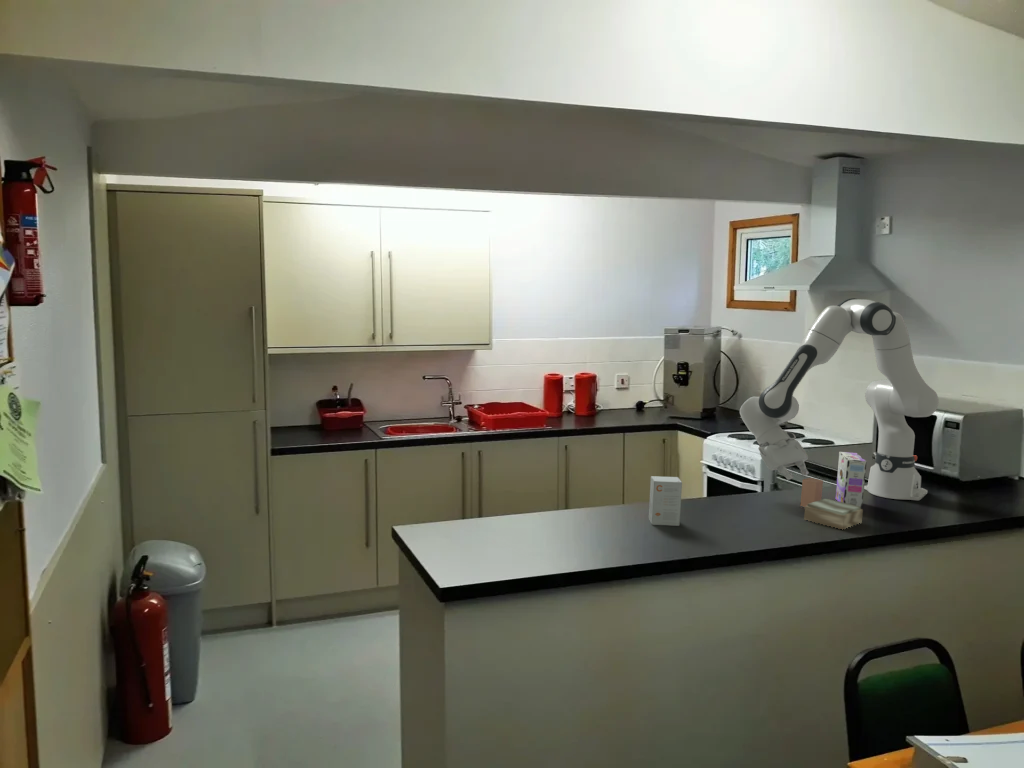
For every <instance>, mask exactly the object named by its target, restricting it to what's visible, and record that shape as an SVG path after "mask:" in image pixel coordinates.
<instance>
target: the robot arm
mask: <svg viewBox="0 0 1024 768" xmlns="http://www.w3.org/2000/svg"><path fill="white" fill-rule="evenodd" d="M852 332H854V333H857V334H865V335H869V336H871V337H872V345H873V351H874V357H875V362H876V367H877V370H878V371H879V372H880V373H881V374H882V375H884V376H885V377H886V378H887V379H880V380H879V379H877V380H873V381H871V382H870V383H869V384H868V385H867V387H866V389H865V392H864V397H865V402H866V403H867V405H868V406H869V407H870V408H871V410H872V412H873V414H874V415H875V419H876V422H877V427H878V440H877V451H876V452H875V455H874V462H875V463H874V464H873V465H871V466H870V468H869V469H870V470H869V474H868V479H867V481H868V482H867V484H866V485H865V484H864V490H866V491H867V492H868V493H869V494H871V495H873V496H877V497H880V498H886V499H891V500H892V499H894V500H909V501H910V500H911V501H920V500H922V499H923V498H924V497H925V496H926V495H927V494H928V489H925V488H923V487H921V486H922V475H920V473H919V472H918V470H917V469H916V468H915V466H916V464H915V463H916V462H917V460H918V456H917V455H914V451H915V450H914V449H915V439H916V435H915V432H914V430H913V429H912V428H911V427H910V426H909V425H908V423H907V421H906V418H905V416H906V417H911V418H927V417H930V416H932V415H933V414H934V413H936V410H937V409H938V406H939V397H938V394H937V392H936V391H935V390H934V389H933V388H932V387H930V386H929V385H928V383H926V381H925V380H924V379H923V377H922V376H921V374H920V372H919V371H918V369H917V367H916V364H915V361H914V356H913V352H912V351H913V350H912V345H911V339H910V335H909V330H908V327H907V324H906V322H905V320H904V317H903V316H902V314H900V313H898V312H896V311H893V310H892V309H891V308H890V307H889V306H888V305H886V304H885V303H883V302H879V301H874V300H872V299H863V298H862V299H860V298H859V299H858V298H847V299H845V300H842V301H840V302H839V303H838V304H837V305H828V306H826V307H825V308H824V309H823V310H822V311H821V312H820V313H819V315H818V316H817V317H816V318H815V320H814V321H813V322H812V324H811V325H810V326H809V328H808V330H807V332H806V333H805V335H804V336H803V339H802V340H801V342H800V344H799V346H798V347H797V349H796V351H795V353H794V354H793V356H792V357H791V359H790V360H789V361H788V363H787V364H786V366H785V367H784V368H783V370H782V372H781V373H779V374H780V375H779V376H778V378H777V379H776V380H775V381H774V382H773V383H772V384H770V385H769V386H768V387H766V388H765V389H764V390H763V391H761V393H760V394H759V395H760V396H751V397H749V398H747V399H746V400H745V401H743V403H742V404H741V406H740V408H739V415H740V418H741V420H742V421H743V423H744V424H745V427H747V429H748V430H749V432H751V433H752V435H753V436H754V438H755V440H756V442H757V443H758V451H759V455H760V457H761V460H762V461H763V462H764V465H765V466H766V468H767V469H768V470H770V471H778V473H780V474H781V475H782V476H784V477H785V478H786V480H788V481H790V480H792V479H793V478H794V476H795V475H793V473H792V472H790V471H789V470H788V469H787V468H789V467H793V466H797V468H799V470H800V472H799V473H800V474H801V476H803V477H805V476H807V475H808V474H809V473H810V472H809V470H808V469H807V467H806V463H805V462H806V461H807V460H808V459H809V456H808V453H807V452H806V450H805V449H804V448H803V446H802V444H801V443H800V442H799V441H798V440H796V439H797V437H796V435H795V434H794V433H793V432H789V431H786V430H785V429H782V427H781V426H780V425H782V424H785V423H786V422H789V421H791V420H792V419H794V418H795V417H796V416H797V415H798V413H799V409H800V407H799V406H800V405H799V402H798V400H797V398H796V397H795V396H794V393H795V391H796V389H797V388H798V386H799V384H800V383H801V382H802V380H803V379H804V377H805V375H806V374H807V373H808V371H810V370H811V369H812V368H814V367H816V366H819V365H825V364H826V363H828V362H829V361H830V360H831V359H832V358H833V357H834V355H835V354H836V353H837V351H838V350H839V348H840V346H841V345H842V343H843V341H844V340H845V338H846V337H847V335H848V334H850V333H852Z"/></svg>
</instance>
